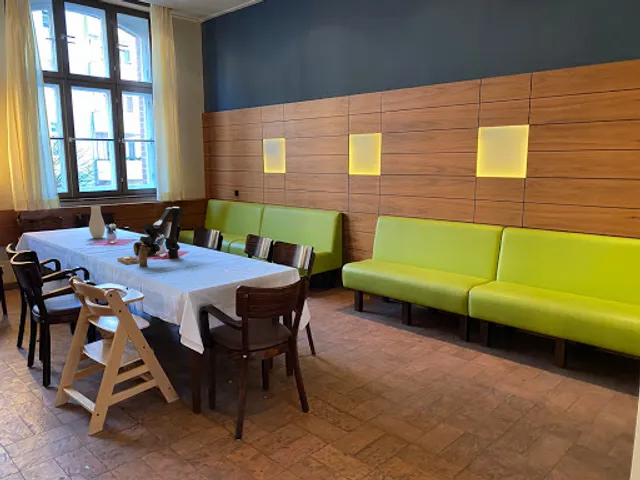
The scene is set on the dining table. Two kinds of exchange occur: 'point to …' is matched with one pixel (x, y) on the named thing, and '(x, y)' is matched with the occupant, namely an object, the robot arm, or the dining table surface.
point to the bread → (145, 249)
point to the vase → (96, 223)
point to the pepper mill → (142, 257)
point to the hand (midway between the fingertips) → (141, 256)
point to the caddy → (128, 260)
